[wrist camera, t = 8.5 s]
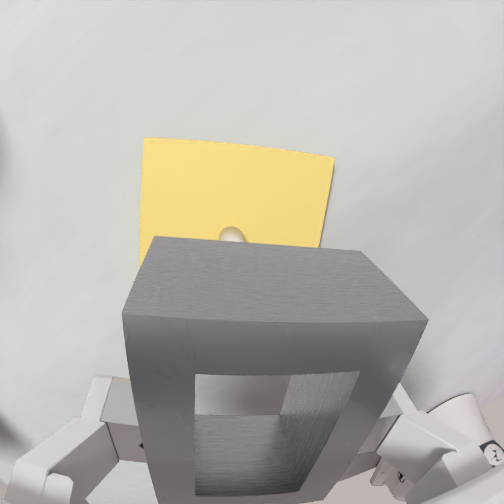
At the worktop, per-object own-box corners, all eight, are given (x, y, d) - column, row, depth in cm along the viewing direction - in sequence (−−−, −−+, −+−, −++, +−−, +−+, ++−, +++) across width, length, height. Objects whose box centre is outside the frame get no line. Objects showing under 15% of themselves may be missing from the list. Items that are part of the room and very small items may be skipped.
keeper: (299, 311, 25) (318, 356, 20) (144, 302, 23) (129, 348, 18) (329, 156, 21) (364, 168, 16) (147, 137, 19) (124, 142, 14)
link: (283, 473, 13) (297, 530, 10) (169, 473, 12) (168, 535, 9) (360, 251, 9) (428, 319, 6) (154, 235, 8) (121, 312, 5)
